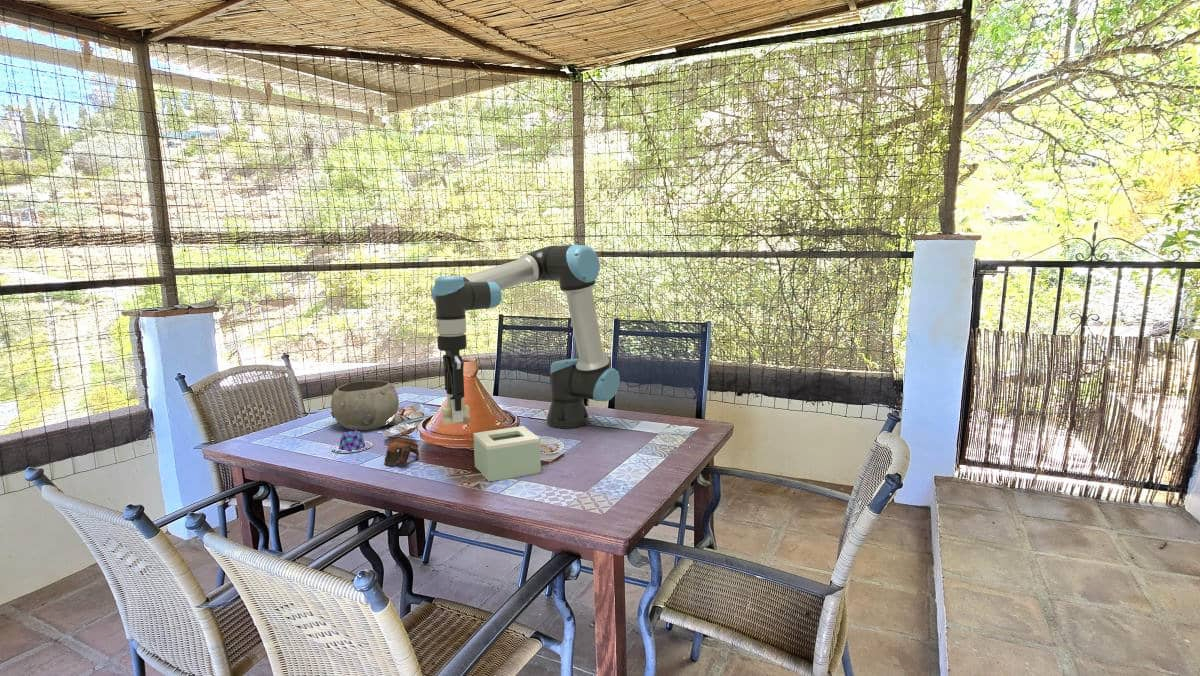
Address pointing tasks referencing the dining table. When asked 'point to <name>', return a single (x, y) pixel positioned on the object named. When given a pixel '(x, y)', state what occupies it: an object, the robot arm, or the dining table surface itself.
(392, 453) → the pottery mug
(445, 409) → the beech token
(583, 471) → the dining table surface
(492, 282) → the robot arm
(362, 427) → the bowl
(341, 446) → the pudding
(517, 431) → the slot box
